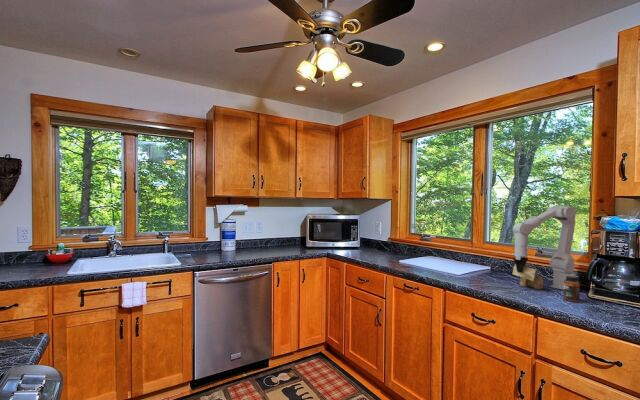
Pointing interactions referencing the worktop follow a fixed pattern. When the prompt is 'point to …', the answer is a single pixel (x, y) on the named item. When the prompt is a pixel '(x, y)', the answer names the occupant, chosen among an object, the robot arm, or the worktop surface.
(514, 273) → the beige block
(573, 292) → the supplement bottle
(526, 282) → the bracket
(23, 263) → the worktop surface
